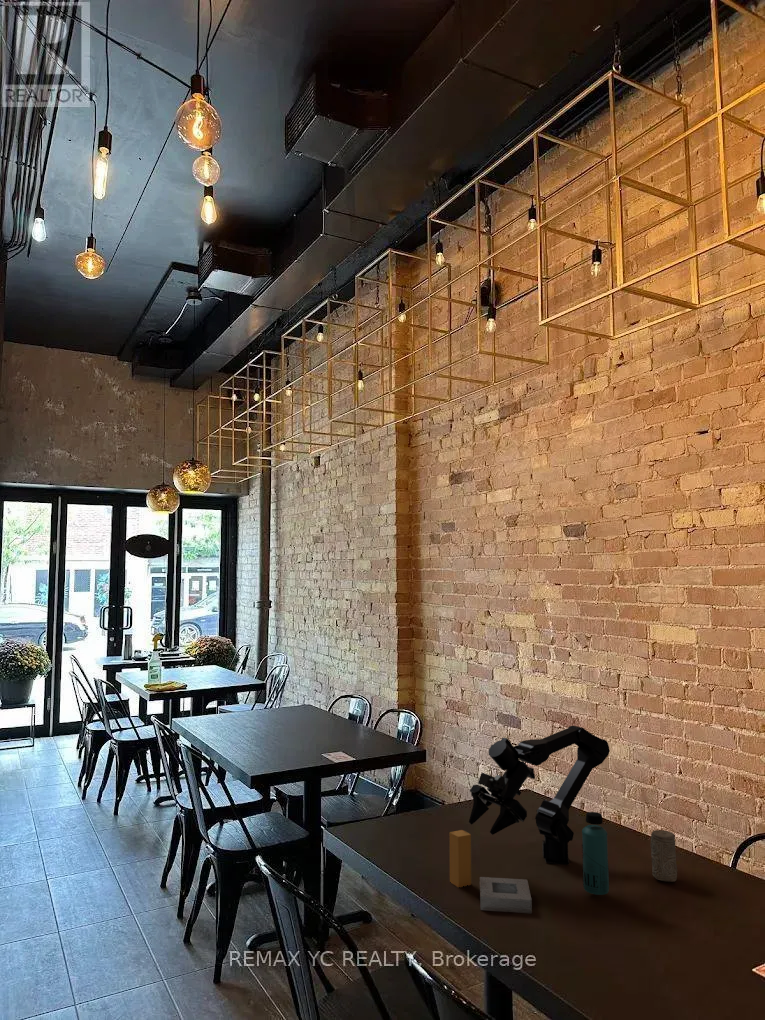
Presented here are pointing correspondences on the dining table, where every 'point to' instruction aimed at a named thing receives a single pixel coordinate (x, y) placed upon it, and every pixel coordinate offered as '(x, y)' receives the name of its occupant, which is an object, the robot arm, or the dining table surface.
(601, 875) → the beverage bottle
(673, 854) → the decorative vessel
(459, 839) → the orange rectangular block
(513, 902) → the gray square socket base
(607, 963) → the dining table surface
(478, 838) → the dining table surface
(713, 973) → the dining table surface
